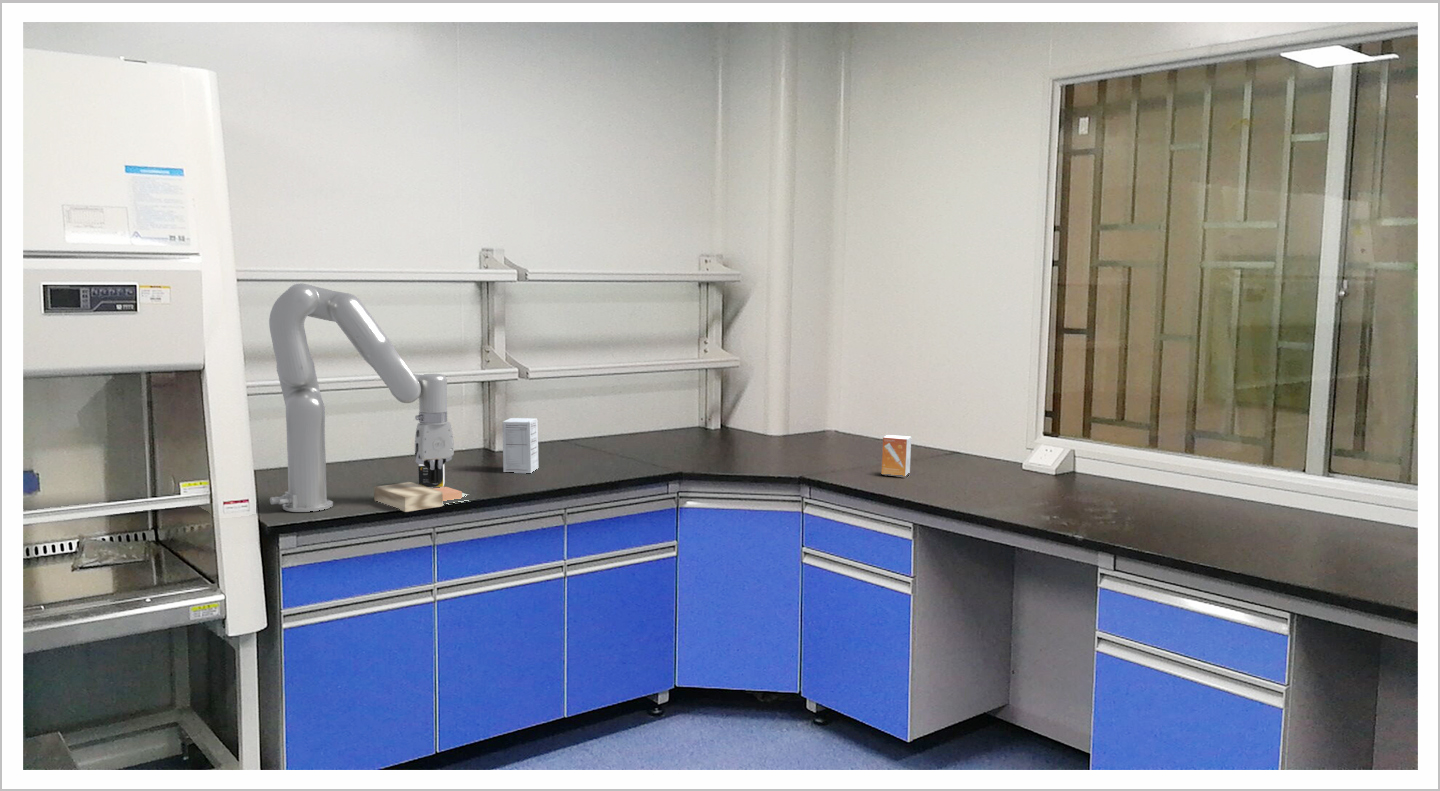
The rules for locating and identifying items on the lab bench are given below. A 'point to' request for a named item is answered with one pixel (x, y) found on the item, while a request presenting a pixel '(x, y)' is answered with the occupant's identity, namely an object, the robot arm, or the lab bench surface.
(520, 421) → the supplement box
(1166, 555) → the lab bench surface
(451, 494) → the salmon orange block
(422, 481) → the medicine bottle
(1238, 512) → the lab bench surface
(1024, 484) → the lab bench surface
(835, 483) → the lab bench surface
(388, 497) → the beige wooden block
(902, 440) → the small box
